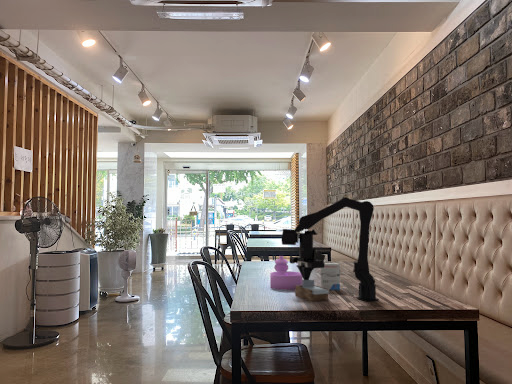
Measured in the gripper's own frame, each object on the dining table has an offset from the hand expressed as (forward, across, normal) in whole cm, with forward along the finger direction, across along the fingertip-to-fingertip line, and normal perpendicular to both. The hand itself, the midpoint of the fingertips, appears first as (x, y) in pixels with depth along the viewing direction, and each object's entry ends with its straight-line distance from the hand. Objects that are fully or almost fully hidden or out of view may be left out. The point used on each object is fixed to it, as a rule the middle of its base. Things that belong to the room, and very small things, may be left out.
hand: (306, 282), depth 159 cm
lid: (+3, -6, 0) cm, 7 cm away
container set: (+6, +27, -5) cm, 28 cm away
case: (+6, -4, 0) cm, 7 cm away
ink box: (+6, +9, -19) cm, 22 cm away
